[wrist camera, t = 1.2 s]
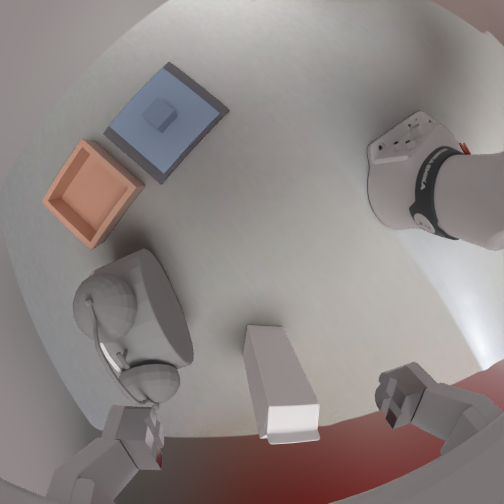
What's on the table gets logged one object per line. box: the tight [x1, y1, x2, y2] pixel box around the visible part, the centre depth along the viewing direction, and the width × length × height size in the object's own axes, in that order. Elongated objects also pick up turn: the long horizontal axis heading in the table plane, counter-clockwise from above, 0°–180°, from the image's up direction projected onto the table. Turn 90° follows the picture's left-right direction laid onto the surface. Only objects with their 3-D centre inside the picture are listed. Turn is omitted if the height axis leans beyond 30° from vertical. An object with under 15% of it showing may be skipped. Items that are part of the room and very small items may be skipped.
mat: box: [103, 62, 229, 184], centre depth 35 cm, size 14×12×1 cm
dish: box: [42, 139, 145, 250], centre depth 34 cm, size 11×11×5 cm
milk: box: [243, 325, 320, 444], centre depth 36 cm, size 6×6×22 cm
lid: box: [109, 68, 220, 174], centre depth 33 cm, size 11×11×5 cm
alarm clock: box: [73, 248, 194, 410], centre depth 31 cm, size 16×9×22 cm, turn 19°
